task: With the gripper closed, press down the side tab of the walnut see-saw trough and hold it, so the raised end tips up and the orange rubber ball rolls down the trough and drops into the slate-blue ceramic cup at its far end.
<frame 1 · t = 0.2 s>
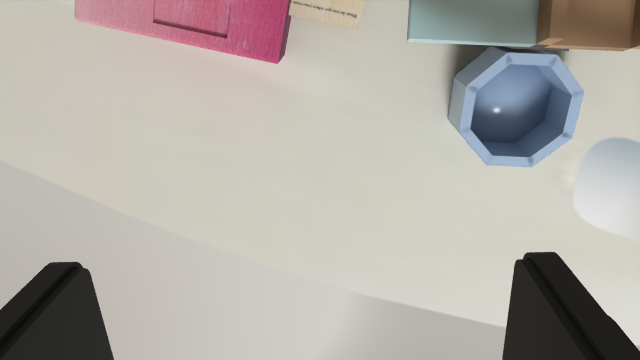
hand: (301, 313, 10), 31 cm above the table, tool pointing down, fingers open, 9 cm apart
cup: (503, 100, 39), on the table
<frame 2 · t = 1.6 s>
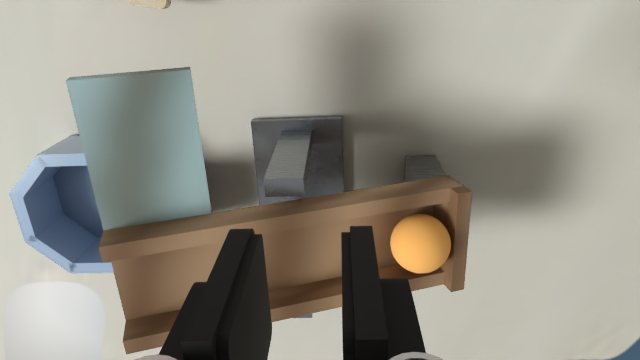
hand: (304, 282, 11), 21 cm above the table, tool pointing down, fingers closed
lever: (293, 197, 23), point 10 cm above the table, hinge at -18.0°, touching ball
fulcrum: (301, 186, 34), on the table
cup: (109, 191, 34), on the table
ball: (420, 243, 26), point 8 cm above the table, tilted 13°, touching lever
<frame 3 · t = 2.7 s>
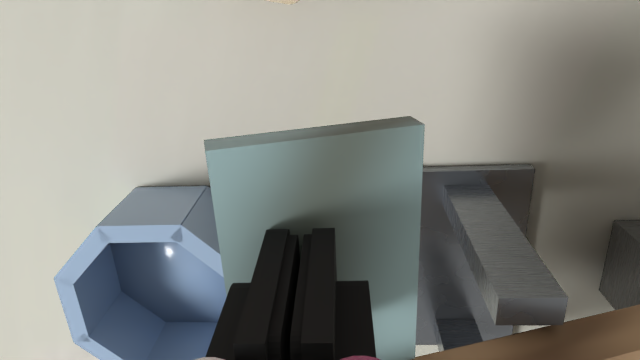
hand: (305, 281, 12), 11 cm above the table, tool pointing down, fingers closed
lever: (555, 334, 14), point 10 cm above the table, hinge at -17.2°, touching ball, gripper
fulcrum: (456, 258, 24), on the table
cup: (185, 261, 25), on the table
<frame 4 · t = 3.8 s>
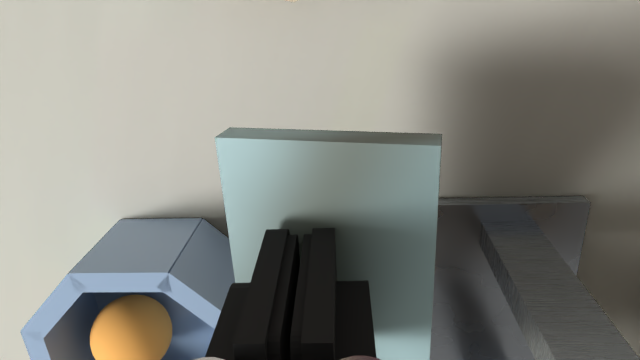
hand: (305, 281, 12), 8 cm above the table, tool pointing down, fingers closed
fulcrum: (492, 301, 20), on the table
cup: (177, 302, 22), on the table
ball: (132, 333, 20), point 2 cm above the table, tilted 170°, touching cup
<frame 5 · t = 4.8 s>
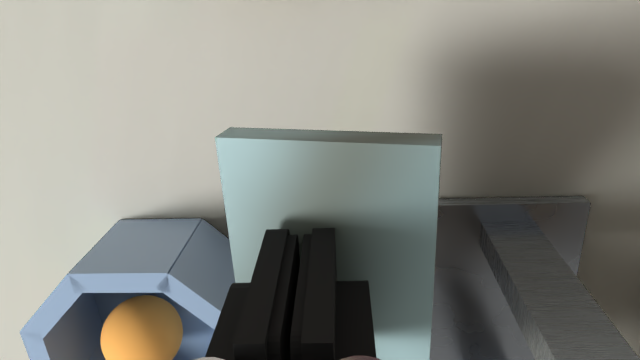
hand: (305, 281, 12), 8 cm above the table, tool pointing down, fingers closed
fulcrum: (492, 302, 20), on the table
cup: (177, 302, 21), on the table
ball: (142, 334, 20), point 2 cm above the table, tilted 153°, touching cup
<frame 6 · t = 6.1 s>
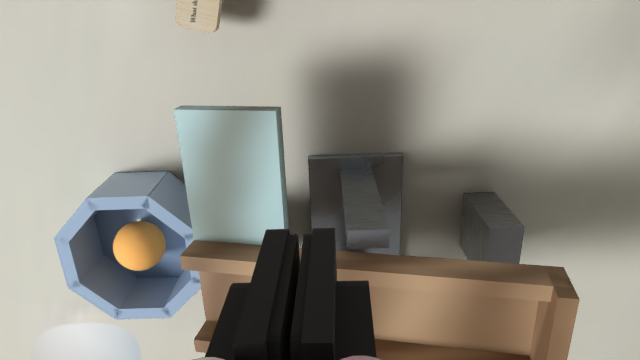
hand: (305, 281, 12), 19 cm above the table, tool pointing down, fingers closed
lever: (362, 252, 22), point 10 cm above the table, hinge at 11.7°
fulcrum: (355, 223, 32), on the table
cup: (152, 230, 33), on the table
ball: (139, 245, 31), point 2 cm above the table, tilted 131°, touching cup
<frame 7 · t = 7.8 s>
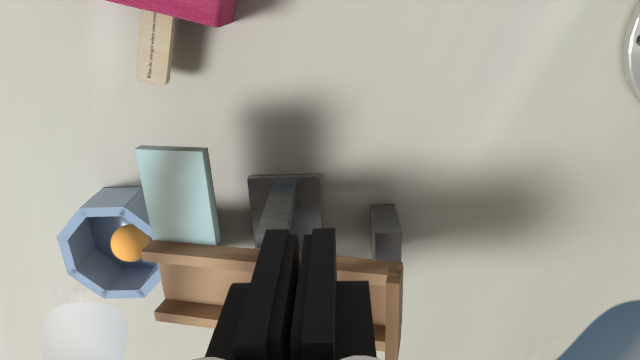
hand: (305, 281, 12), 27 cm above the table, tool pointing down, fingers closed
lever: (265, 250, 31), point 10 cm above the table, hinge at 11.7°
fulcrum: (288, 227, 42), on the table
cup: (132, 231, 42), on the table
ball: (131, 242, 40), point 2 cm above the table, tilted 101°, touching cup
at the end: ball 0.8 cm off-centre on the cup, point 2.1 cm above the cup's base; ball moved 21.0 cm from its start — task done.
